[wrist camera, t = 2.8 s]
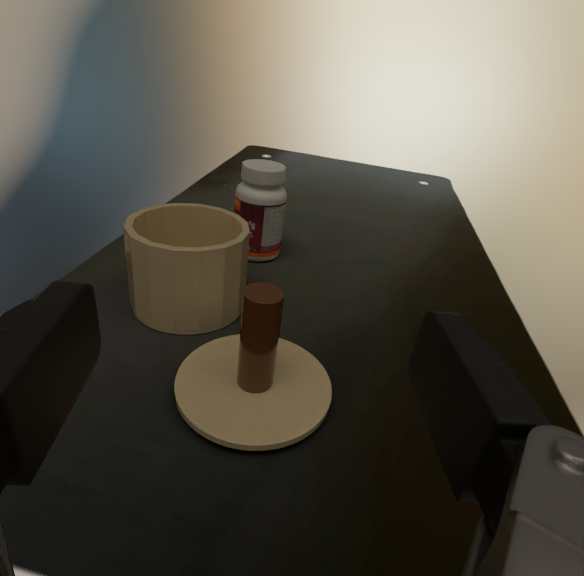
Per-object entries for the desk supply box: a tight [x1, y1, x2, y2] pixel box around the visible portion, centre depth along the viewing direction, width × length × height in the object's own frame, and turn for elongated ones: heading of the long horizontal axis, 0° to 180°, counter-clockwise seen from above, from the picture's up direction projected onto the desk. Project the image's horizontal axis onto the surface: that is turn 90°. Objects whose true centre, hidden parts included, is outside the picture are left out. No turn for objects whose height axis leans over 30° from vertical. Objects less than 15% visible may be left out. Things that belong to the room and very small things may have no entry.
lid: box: [174, 282, 332, 451], centre depth 31 cm, size 12×12×9 cm
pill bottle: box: [234, 159, 287, 262], centre depth 52 cm, size 6×6×11 cm
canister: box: [124, 203, 250, 335], centre depth 41 cm, size 11×11×8 cm
